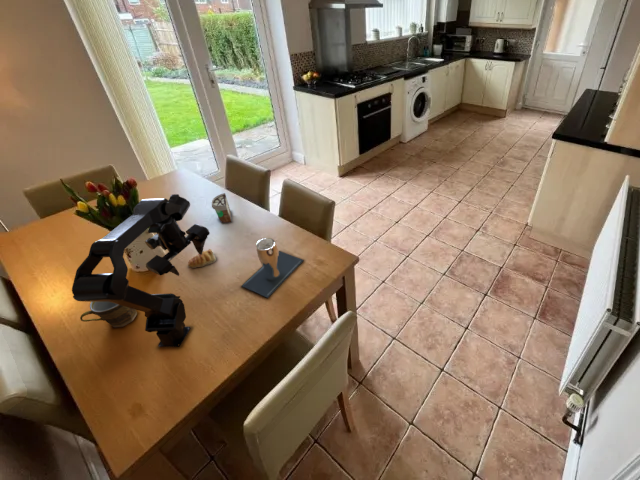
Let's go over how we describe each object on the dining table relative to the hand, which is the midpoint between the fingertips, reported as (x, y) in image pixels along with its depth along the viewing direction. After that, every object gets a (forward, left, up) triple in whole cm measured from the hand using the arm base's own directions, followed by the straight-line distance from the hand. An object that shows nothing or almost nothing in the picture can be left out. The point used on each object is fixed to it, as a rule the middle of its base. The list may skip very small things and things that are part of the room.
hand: (189, 264), depth 105 cm
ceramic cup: (-13, +20, -13) cm, 27 cm away
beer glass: (+7, -24, -12) cm, 27 cm away
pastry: (+14, +6, -13) cm, 19 cm away
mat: (+8, -23, -12) cm, 28 cm away
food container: (+42, +11, -13) cm, 45 cm away
